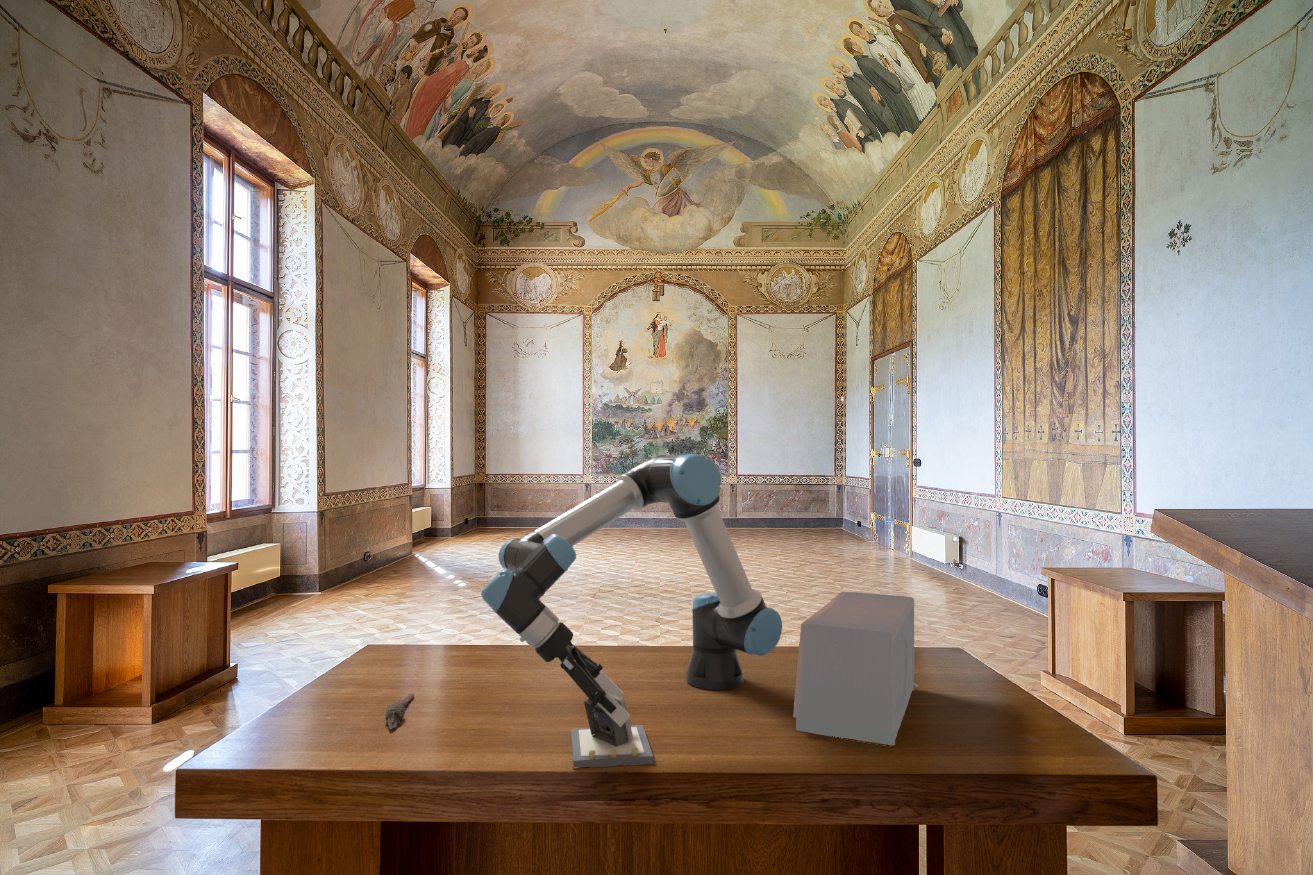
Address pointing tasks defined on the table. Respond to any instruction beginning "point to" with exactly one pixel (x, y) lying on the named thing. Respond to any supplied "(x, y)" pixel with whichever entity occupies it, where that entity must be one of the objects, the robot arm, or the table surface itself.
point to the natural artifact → (396, 712)
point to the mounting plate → (609, 749)
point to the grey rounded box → (856, 667)
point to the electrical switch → (607, 724)
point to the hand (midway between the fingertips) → (622, 708)
